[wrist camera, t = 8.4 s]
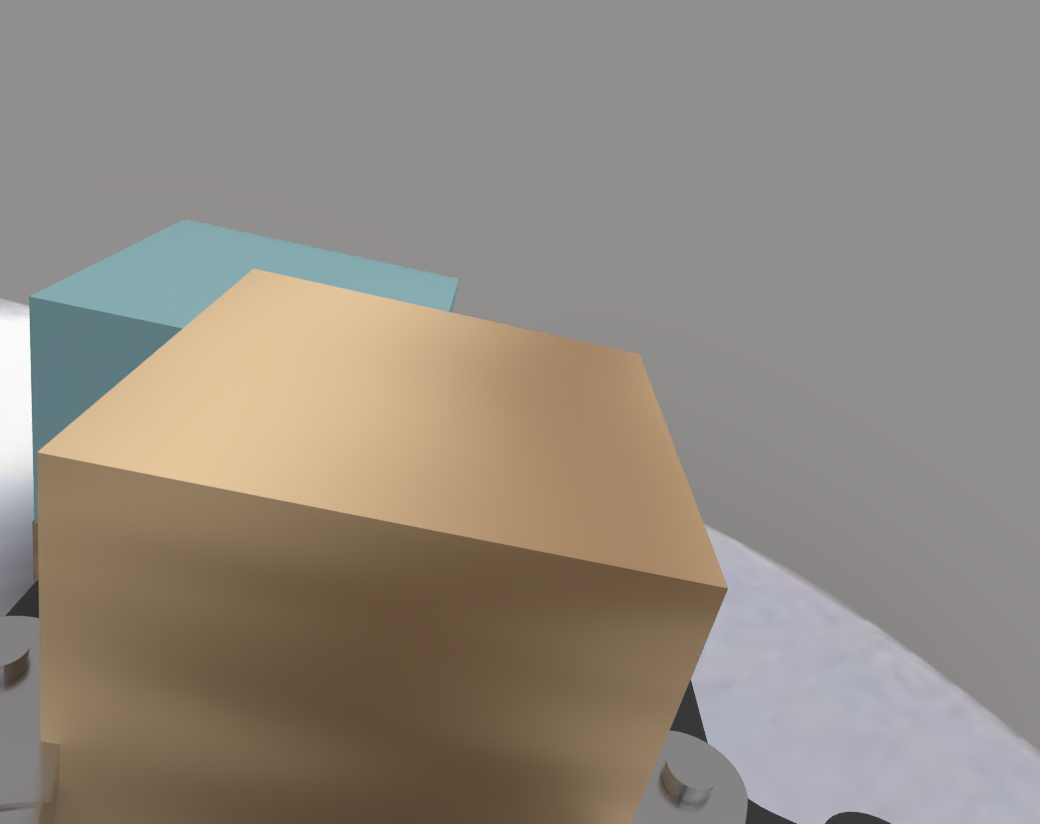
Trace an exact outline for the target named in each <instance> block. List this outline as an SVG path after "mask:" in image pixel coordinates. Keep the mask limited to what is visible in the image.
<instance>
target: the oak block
mask: <svg viewBox="0 0 1040 824" xmlns="http://www.w3.org/2000/svg"><path fill="white" fill-rule="evenodd" d="M37 493H38V573H39V652H40V732H41V741H42V742H48V743H54V744H59V789H58V796H57V802H56V809H55V815H54V822H53V824H631V823H632V821H633V818H634V816H635V813H636V811H637V809H638V806H639V804H640V801H641V799H642V796H643V794H644V791H645V789H646V787H647V784H648V782H649V779H650V777H651V774H652V772H653V770H654V767H655V765H656V762H657V760H658V757H659V755H660V753H661V750H662V748H663V745H664V743H665V740H666V738H667V735H668V733H669V731H670V728H671V726H672V723H673V721H674V718H675V716H676V714H677V711H678V709H679V706H680V704H681V701H682V699H683V697H684V694H685V692H686V689H687V687H688V684H689V682H690V679H691V677H692V675H693V672H694V670H695V667H696V665H697V662H698V660H699V658H700V655H701V653H702V650H703V648H704V645H705V643H706V641H707V638H708V636H709V633H710V631H711V628H712V626H713V623H714V621H715V619H716V616H717V614H718V611H719V609H720V606H721V604H722V602H723V599H724V597H725V594H726V592H727V589H728V587H727V585H726V582H725V579H724V577H723V574H722V571H721V569H720V566H719V563H718V561H717V558H716V555H715V553H714V550H713V548H712V545H711V542H710V540H709V537H708V534H707V532H706V529H705V526H704V524H703V521H702V519H701V516H700V513H699V510H698V508H697V505H696V502H695V500H694V497H693V495H692V492H691V490H690V487H689V484H688V482H687V479H686V476H685V473H684V471H683V468H682V466H681V463H680V460H679V458H678V455H677V452H676V449H675V447H674V444H673V441H672V439H671V436H670V434H669V431H668V428H667V426H666V423H665V421H664V418H663V415H662V412H661V410H660V407H659V404H658V402H657V399H656V397H655V394H654V391H653V388H652V386H651V383H650V381H649V378H648V375H647V373H646V370H645V367H644V365H643V362H642V359H641V357H640V355H639V354H636V353H631V352H627V351H622V350H618V349H613V348H609V347H604V346H600V345H595V344H591V343H586V342H582V341H577V340H573V339H568V338H564V337H559V336H555V335H550V334H546V333H541V332H537V331H532V330H528V329H523V328H519V327H514V326H510V325H505V324H501V323H496V322H492V321H487V320H483V319H479V318H474V317H470V316H465V315H460V314H456V313H452V312H447V311H443V310H438V309H434V308H429V307H425V306H420V305H416V304H411V303H407V302H402V301H398V300H393V299H389V298H384V297H380V296H375V295H371V294H366V293H362V292H357V291H353V290H348V289H344V288H339V287H335V286H330V285H326V284H321V283H317V282H312V281H308V280H303V279H299V278H294V277H290V276H285V275H281V274H276V273H272V272H267V271H263V270H258V269H253V270H251V271H250V272H249V273H248V274H247V275H245V276H244V277H243V278H242V279H241V280H240V281H238V282H237V283H236V284H235V285H234V286H233V287H231V288H230V289H229V290H228V291H227V292H225V293H224V294H223V295H222V296H221V297H220V298H218V299H217V300H216V301H215V302H214V303H212V304H211V305H210V306H209V307H208V308H207V309H205V310H204V311H203V312H202V313H201V314H199V315H198V316H197V317H196V318H195V319H194V320H192V321H191V322H190V323H189V324H188V325H187V326H185V327H184V328H183V329H182V330H181V331H179V332H178V333H177V334H176V335H175V336H174V337H172V338H171V339H170V340H169V341H168V342H166V343H165V344H164V345H163V346H162V347H161V348H159V349H158V350H157V351H156V352H155V353H154V354H152V355H151V356H150V357H149V358H148V359H146V360H145V361H144V362H143V363H142V364H141V365H139V366H138V367H137V368H136V369H135V370H133V371H132V372H131V373H130V374H129V375H128V376H126V377H125V378H124V379H123V380H122V381H120V382H119V383H118V384H117V385H116V386H115V387H113V388H112V389H111V390H110V391H109V392H108V393H106V394H105V395H104V396H103V397H102V398H100V399H99V400H98V401H97V402H96V403H95V404H93V405H92V406H91V407H90V408H89V409H87V410H86V411H85V412H84V413H83V414H82V415H80V416H79V417H78V418H77V419H76V420H74V421H73V422H72V423H71V424H70V425H69V426H67V427H66V428H65V429H64V430H63V431H62V432H60V433H59V434H58V435H57V436H56V437H54V438H53V439H52V440H51V441H50V442H49V443H47V444H46V445H45V446H44V447H43V448H41V449H40V450H39V451H38V452H37Z"/></svg>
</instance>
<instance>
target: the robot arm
mask: <svg viewBox="0 0 1040 824" xmlns="http://www.w3.org/2000/svg"><path fill="white" fill-rule="evenodd" d="M58 789H59V744H54V743H48V742H42V741H41V732H40V652H39V579H38V580H37V581H36V582H35V584H34V585H33V586H32V587H31V588H30V589H29V590H28V591H27V592H26V594H25V595H24V596H23V597H22V598H21V599H20V600H19V601H18V603H17V604H16V605H15V606H14V607H13V608H12V609H11V610H10V612H9V613H8V614H7V615H6V616H2V617H0V824H53V822H54V815H55V809H56V802H57V796H58ZM631 824H796V823H794V822H792V821H790V820H787V819H785V818H783V817H781V816H778V815H776V814H774V813H772V812H770V811H768V810H766V809H764V808H762V807H760V806H759V805H757V804H756V803H754V802H753V801H751V800H749V799H748V797H747V792H746V788H745V786H744V783H743V781H742V779H741V777H740V775H739V773H738V772H737V770H736V769H735V768H734V766H733V765H732V764H731V763H730V762H729V760H728V759H727V758H726V757H725V756H724V755H722V754H721V753H720V752H719V751H718V750H716V749H715V748H714V747H712V746H711V745H709V744H708V743H707V739H706V735H705V732H704V728H703V724H702V720H701V716H700V713H699V709H698V705H697V701H696V698H695V694H694V690H693V686H692V682H691V679H690V682H689V684H688V687H687V689H686V692H685V694H684V697H683V699H682V701H681V704H680V706H679V709H678V711H677V714H676V716H675V718H674V721H673V723H672V726H671V728H670V731H669V733H668V735H667V738H666V740H665V743H664V745H663V748H662V750H661V753H660V755H659V757H658V760H657V762H656V765H655V767H654V770H653V772H652V774H651V777H650V779H649V782H648V784H647V787H646V789H645V791H644V794H643V796H642V799H641V801H640V804H639V806H638V809H637V811H636V813H635V816H634V818H633V821H632V823H631ZM825 824H890V823H889V822H887V821H884V820H882V819H880V818H878V817H875V816H872V815H869V814H864V813H859V812H844V813H839V814H837V815H834V816H832V817H831V818H830V819H829V820H827V822H826V823H825Z"/></svg>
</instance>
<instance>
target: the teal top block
mask: <svg viewBox="0 0 1040 824" xmlns="http://www.w3.org/2000/svg"><path fill="white" fill-rule="evenodd" d="M253 269H258V270H263V271H267V272H272V273H276V274H281V275H285V276H290V277H294V278H299V279H303V280H308V281H312V282H317V283H321V284H326V285H330V286H335V287H339V288H344V289H348V290H353V291H357V292H362V293H366V294H371V295H375V296H380V297H384V298H389V299H393V300H398V301H402V302H407V303H411V304H416V305H420V306H425V307H429V308H434V309H438V310H443V311H447V312H453V307H454V302H455V297H456V292H457V286H458V281H459V279H456V278H452V277H447V276H442V275H438V274H433V273H429V272H424V271H420V270H415V269H411V268H406V267H401V266H397V265H392V264H388V263H383V262H378V261H374V260H369V259H365V258H360V257H356V256H351V255H346V254H342V253H337V252H333V251H328V250H323V249H319V248H314V247H309V246H305V245H301V244H296V243H291V242H287V241H282V240H278V239H273V238H269V237H264V236H260V235H255V234H250V233H245V232H241V231H236V230H232V229H227V228H223V227H218V226H214V225H209V224H205V223H200V222H196V221H191V220H186V219H184V220H182V221H181V222H178V223H176V224H175V225H172V226H170V227H168V228H166V229H164V230H162V231H160V232H158V233H156V234H154V235H152V236H150V237H148V238H146V239H144V240H142V241H140V242H138V243H136V244H134V245H132V246H130V247H128V248H126V249H124V250H122V251H120V252H118V253H116V254H114V255H112V256H110V257H108V258H106V259H104V260H102V261H100V262H98V263H96V264H94V265H92V266H90V267H88V268H86V269H84V270H82V271H80V272H78V273H76V274H74V275H72V276H70V277H68V278H66V279H63V280H62V281H59V282H58V283H55V284H53V285H52V286H49V287H47V288H45V289H43V290H41V291H39V292H37V293H35V294H33V295H31V296H30V297H29V306H30V348H31V390H32V433H33V475H34V517H35V523H38V493H37V452H38V451H39V450H40V449H41V448H43V447H44V446H45V445H46V444H47V443H49V442H50V441H51V440H52V439H53V438H54V437H56V436H57V435H58V434H59V433H60V432H62V431H63V430H64V429H65V428H66V427H67V426H69V425H70V424H71V423H72V422H73V421H74V420H76V419H77V418H78V417H79V416H80V415H82V414H83V413H84V412H85V411H86V410H87V409H89V408H90V407H91V406H92V405H93V404H95V403H96V402H97V401H98V400H99V399H100V398H102V397H103V396H104V395H105V394H106V393H108V392H109V391H110V390H111V389H112V388H113V387H115V386H116V385H117V384H118V383H119V382H120V381H122V380H123V379H124V378H125V377H126V376H128V375H129V374H130V373H131V372H132V371H133V370H135V369H136V368H137V367H138V366H139V365H141V364H142V363H143V362H144V361H145V360H146V359H148V358H149V357H150V356H151V355H152V354H154V353H155V352H156V351H157V350H158V349H159V348H161V347H162V346H163V345H164V344H165V343H166V342H168V341H169V340H170V339H171V338H172V337H174V336H175V335H176V334H177V333H178V332H179V331H181V330H182V329H183V328H184V327H185V326H187V325H188V324H189V323H190V322H191V321H192V320H194V319H195V318H196V317H197V316H198V315H199V314H201V313H202V312H203V311H204V310H205V309H207V308H208V307H209V306H210V305H211V304H212V303H214V302H215V301H216V300H217V299H218V298H220V297H221V296H222V295H223V294H224V293H225V292H227V291H228V290H229V289H230V288H231V287H233V286H234V285H235V284H236V283H237V282H238V281H240V280H241V279H242V278H243V277H244V276H245V275H247V274H248V273H249V272H250V271H251V270H253Z"/></svg>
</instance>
